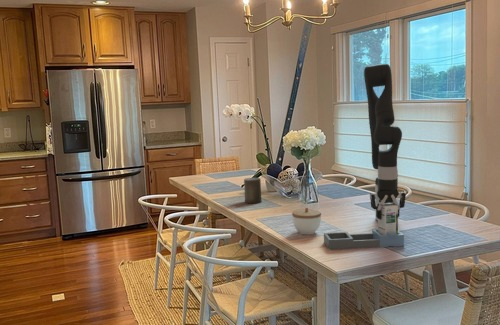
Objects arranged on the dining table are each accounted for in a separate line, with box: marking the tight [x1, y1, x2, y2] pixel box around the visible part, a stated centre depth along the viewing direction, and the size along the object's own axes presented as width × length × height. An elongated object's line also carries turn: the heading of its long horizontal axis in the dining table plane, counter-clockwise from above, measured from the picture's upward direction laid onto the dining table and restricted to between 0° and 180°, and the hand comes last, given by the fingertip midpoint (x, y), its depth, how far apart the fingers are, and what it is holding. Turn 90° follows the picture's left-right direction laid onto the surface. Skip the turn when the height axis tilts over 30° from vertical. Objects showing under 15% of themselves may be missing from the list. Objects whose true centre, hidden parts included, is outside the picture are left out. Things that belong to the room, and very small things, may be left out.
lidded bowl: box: [291, 207, 322, 236], centre depth 209 cm, size 13×13×11 cm
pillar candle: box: [243, 177, 262, 204], centre depth 275 cm, size 10×10×15 cm
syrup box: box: [377, 203, 399, 235], centre depth 189 cm, size 6×6×14 cm
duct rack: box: [323, 228, 405, 251], centre depth 189 cm, size 12×30×5 cm, turn 93°
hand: (387, 218), depth 189 cm, fingers closed on syrup box, 6 cm apart
